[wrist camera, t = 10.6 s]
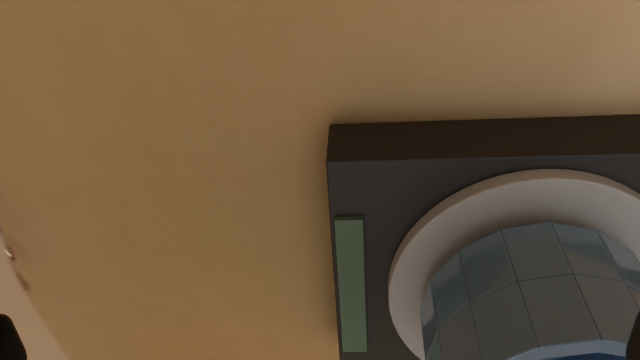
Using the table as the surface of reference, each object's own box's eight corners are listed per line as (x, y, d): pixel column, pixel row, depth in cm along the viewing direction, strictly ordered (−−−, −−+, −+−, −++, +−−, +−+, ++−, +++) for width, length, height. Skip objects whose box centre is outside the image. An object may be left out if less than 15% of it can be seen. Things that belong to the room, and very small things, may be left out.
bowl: (378, 315, 20) (383, 452, 16) (517, 172, 17) (568, 297, 13) (534, 392, 22) (575, 534, 18) (689, 275, 19) (784, 415, 14)
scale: (342, 335, 25) (340, 396, 23) (329, 123, 20) (324, 172, 17) (639, 334, 24) (672, 397, 22) (711, 112, 19) (765, 161, 16)
